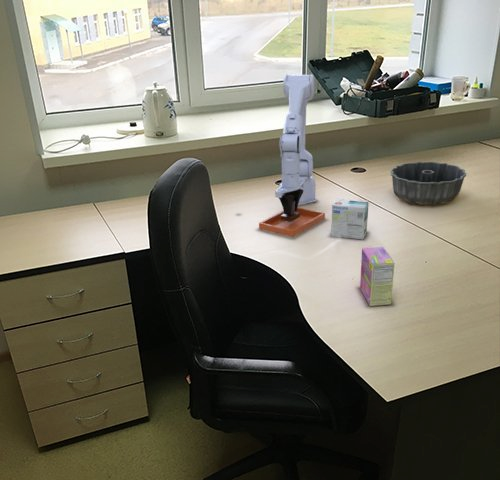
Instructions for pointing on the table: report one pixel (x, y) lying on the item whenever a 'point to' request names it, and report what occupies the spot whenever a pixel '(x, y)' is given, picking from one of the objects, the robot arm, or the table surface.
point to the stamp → (293, 214)
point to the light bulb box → (349, 218)
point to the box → (376, 276)
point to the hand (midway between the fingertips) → (290, 212)
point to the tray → (294, 227)
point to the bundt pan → (427, 182)
